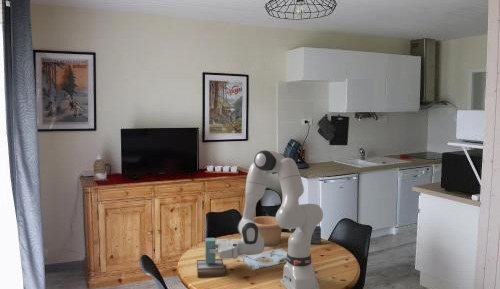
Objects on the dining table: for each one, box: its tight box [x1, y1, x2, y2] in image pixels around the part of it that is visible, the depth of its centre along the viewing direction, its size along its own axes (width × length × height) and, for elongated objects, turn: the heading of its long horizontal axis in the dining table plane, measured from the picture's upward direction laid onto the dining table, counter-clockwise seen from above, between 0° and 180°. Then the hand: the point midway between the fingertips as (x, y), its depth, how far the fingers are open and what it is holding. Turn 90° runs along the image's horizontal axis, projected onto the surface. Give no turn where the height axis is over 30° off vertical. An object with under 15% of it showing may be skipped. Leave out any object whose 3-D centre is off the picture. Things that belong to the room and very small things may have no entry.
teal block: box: [204, 237, 216, 263], centre depth 215 cm, size 5×5×12 cm
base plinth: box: [196, 258, 226, 278], centre depth 216 cm, size 16×14×3 cm
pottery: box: [254, 215, 283, 248], centre depth 261 cm, size 22×22×14 cm
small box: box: [311, 225, 322, 245], centre depth 261 cm, size 11×6×10 cm, turn 84°
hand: (208, 248), depth 215 cm, fingers closed on teal block, 5 cm apart
